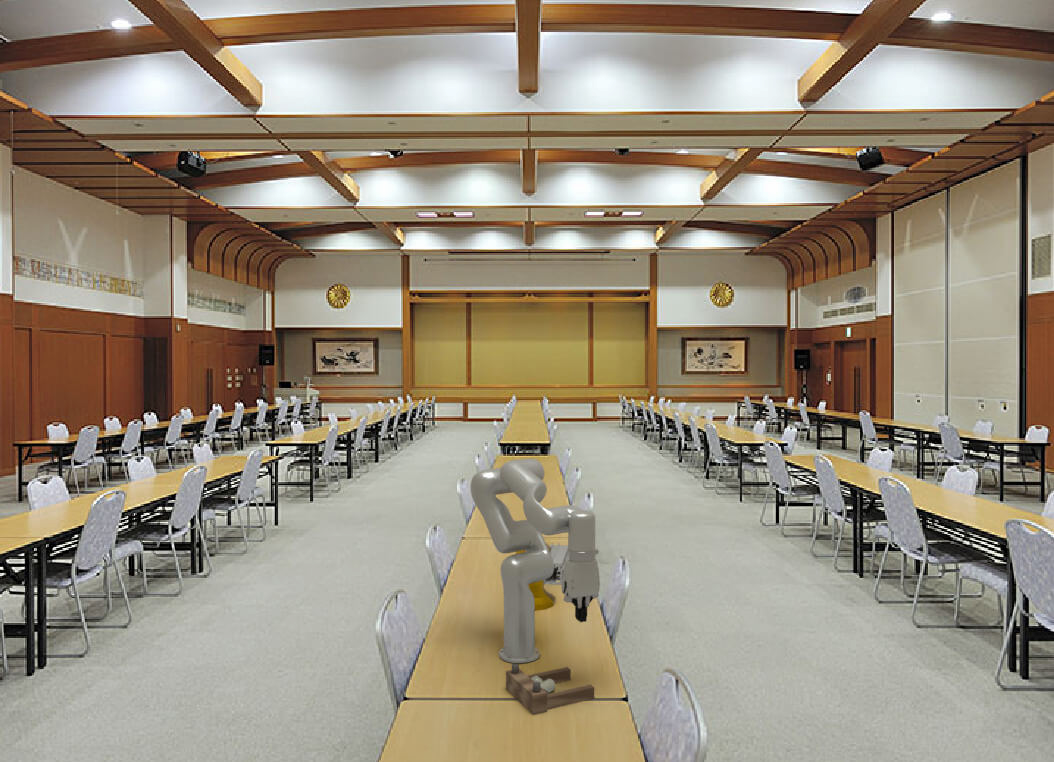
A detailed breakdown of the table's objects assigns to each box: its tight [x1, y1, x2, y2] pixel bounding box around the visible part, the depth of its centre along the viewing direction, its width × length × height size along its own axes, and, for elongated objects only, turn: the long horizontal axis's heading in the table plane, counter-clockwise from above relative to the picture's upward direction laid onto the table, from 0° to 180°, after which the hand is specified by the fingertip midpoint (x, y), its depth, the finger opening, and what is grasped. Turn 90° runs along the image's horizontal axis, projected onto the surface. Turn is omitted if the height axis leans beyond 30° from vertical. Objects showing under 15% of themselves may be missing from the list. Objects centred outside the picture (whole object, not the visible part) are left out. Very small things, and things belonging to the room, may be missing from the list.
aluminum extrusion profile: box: [544, 543, 568, 586], centre depth 319 cm, size 14×31×10 cm, turn 171°
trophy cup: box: [515, 542, 557, 612], centre depth 279 cm, size 18×24×28 cm
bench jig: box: [505, 663, 595, 716], centre depth 202 cm, size 17×19×7 cm
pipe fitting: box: [531, 676, 556, 694], centre depth 202 cm, size 8×4×7 cm
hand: (581, 620), depth 206 cm, fingers closed
